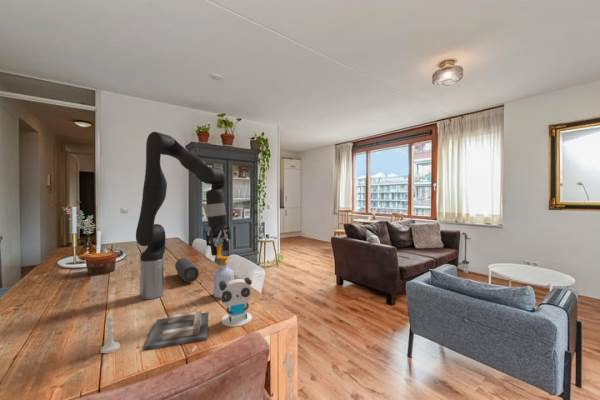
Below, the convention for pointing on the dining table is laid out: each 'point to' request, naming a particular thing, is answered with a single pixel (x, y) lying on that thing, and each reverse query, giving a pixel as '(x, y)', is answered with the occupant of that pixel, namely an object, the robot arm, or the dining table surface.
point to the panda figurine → (236, 301)
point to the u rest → (178, 330)
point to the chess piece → (110, 339)
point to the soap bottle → (221, 272)
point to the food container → (100, 263)
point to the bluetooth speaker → (186, 270)
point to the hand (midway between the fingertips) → (220, 252)
